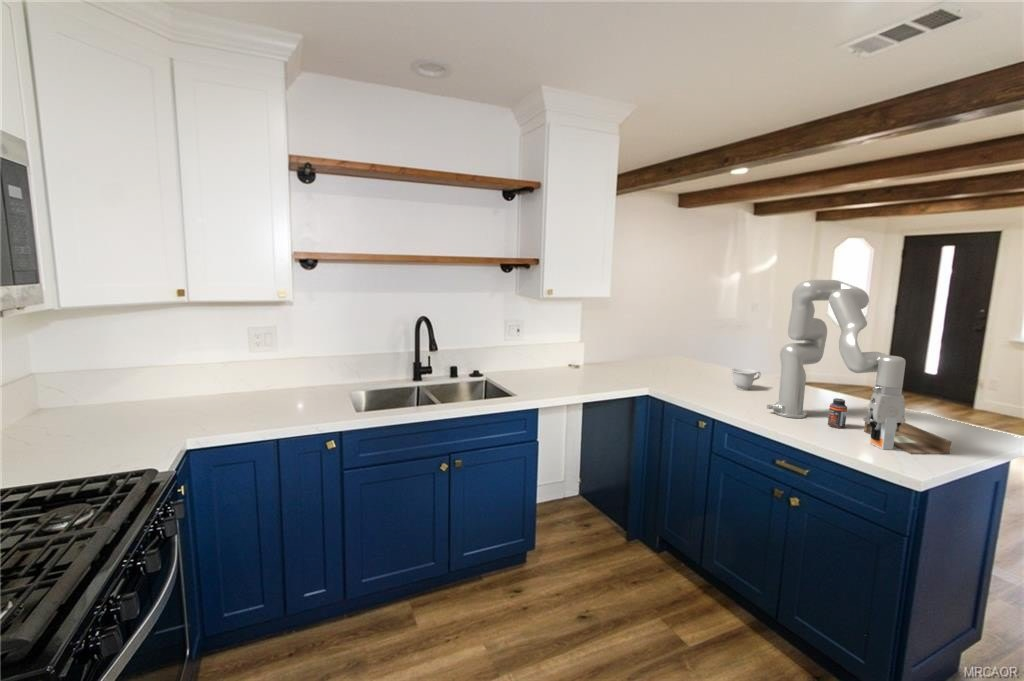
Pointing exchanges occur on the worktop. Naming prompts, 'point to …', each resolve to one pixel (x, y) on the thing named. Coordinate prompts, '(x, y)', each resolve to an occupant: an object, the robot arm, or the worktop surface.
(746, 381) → the teacup
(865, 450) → the worktop surface
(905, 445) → the wooden tray
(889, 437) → the skincare box
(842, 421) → the supplement bottle
